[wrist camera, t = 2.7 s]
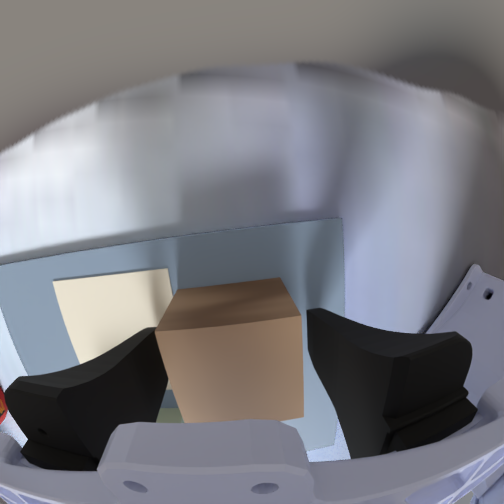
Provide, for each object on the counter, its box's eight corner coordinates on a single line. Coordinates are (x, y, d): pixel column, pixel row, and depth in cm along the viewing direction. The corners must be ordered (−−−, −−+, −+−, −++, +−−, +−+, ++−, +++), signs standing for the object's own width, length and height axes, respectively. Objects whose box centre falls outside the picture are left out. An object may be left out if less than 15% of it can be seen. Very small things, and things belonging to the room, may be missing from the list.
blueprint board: (338, 217, 12) (343, 218, 12) (332, 441, 15) (334, 445, 15) (-7, 266, 11) (-12, 268, 11) (73, 444, 14) (71, 448, 14)
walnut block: (280, 277, 12) (301, 315, 8) (286, 362, 13) (303, 417, 9) (177, 289, 12) (154, 331, 8) (196, 372, 13) (187, 429, 9)
